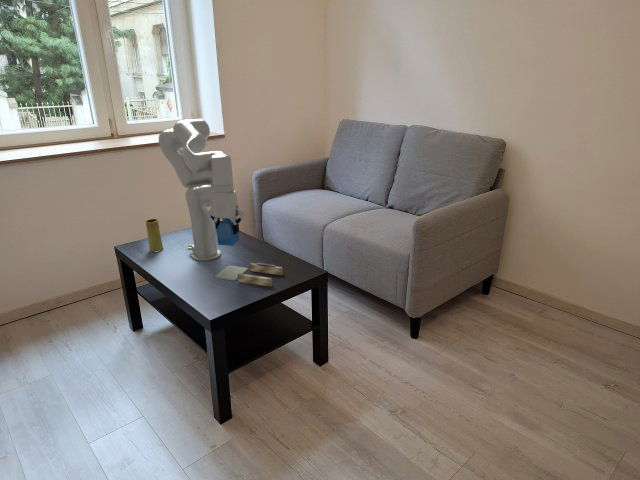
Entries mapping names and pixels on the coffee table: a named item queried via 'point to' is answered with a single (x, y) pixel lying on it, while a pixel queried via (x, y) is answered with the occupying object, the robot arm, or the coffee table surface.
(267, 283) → the cradle
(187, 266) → the coffee table surface
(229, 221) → the perfume bottle
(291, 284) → the coffee table surface
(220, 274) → the mat
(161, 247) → the vase
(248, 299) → the coffee table surface
